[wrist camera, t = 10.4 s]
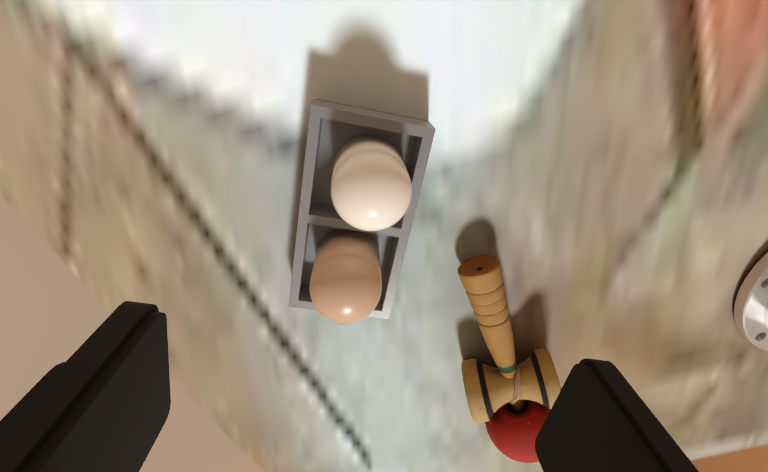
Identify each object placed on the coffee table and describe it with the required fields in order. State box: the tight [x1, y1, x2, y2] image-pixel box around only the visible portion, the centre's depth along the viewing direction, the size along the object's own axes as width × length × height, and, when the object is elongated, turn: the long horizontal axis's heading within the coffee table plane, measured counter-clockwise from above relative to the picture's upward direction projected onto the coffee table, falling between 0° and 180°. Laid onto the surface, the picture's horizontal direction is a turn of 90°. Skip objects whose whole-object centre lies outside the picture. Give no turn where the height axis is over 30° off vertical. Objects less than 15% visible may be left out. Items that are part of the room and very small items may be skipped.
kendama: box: [458, 256, 561, 463], centre depth 31 cm, size 8×6×18 cm
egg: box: [331, 134, 412, 231], centre depth 22 cm, size 4×4×6 cm
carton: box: [289, 99, 435, 324], centre depth 24 cm, size 7×13×7 cm, turn 169°
